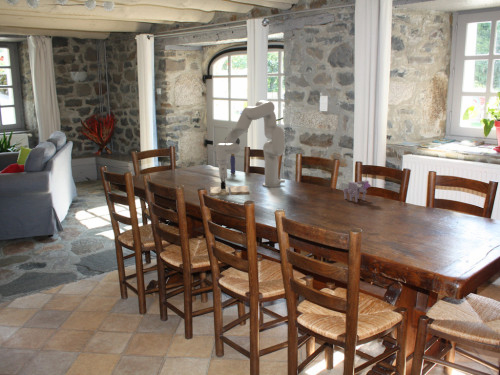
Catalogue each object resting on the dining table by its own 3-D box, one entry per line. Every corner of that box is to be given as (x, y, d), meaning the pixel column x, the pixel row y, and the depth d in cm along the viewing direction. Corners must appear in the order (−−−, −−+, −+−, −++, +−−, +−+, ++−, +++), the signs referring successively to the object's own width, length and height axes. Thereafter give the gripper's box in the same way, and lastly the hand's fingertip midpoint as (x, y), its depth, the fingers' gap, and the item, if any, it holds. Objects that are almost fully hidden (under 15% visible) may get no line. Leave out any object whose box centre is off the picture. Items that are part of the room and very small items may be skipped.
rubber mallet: (241, 174, 392) (240, 136, 386) (233, 175, 388) (232, 137, 382) (232, 172, 402) (231, 135, 396) (224, 173, 398) (223, 136, 391)
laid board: (246, 187, 344) (246, 185, 344) (249, 193, 327) (249, 191, 326) (228, 188, 343) (228, 186, 343) (230, 194, 325) (230, 192, 325)
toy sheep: (377, 202, 299) (377, 180, 296) (364, 206, 293) (364, 183, 290) (353, 196, 315) (353, 175, 312) (341, 199, 310) (341, 178, 307)
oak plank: (227, 188, 343) (227, 186, 343) (229, 194, 325) (229, 192, 325) (209, 189, 342) (209, 187, 341) (210, 195, 324) (210, 193, 324)
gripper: (228, 163, 323) (229, 191, 327) (227, 159, 337) (228, 186, 341) (217, 164, 322) (218, 191, 326) (216, 160, 336) (217, 186, 340)
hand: (223, 188), depth 333 cm, fingers closed
